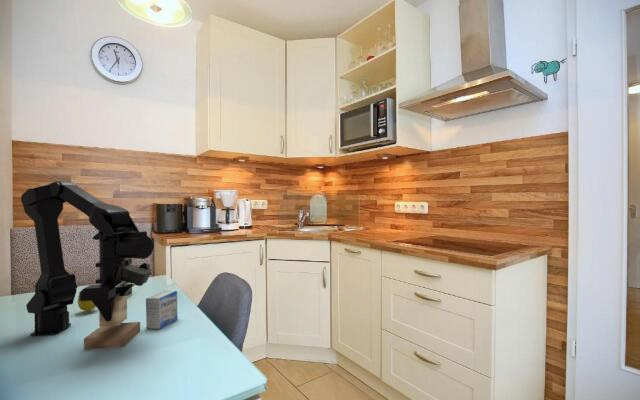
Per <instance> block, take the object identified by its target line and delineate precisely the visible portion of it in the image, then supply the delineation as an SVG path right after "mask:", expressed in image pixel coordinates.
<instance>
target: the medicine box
mask: <svg viewBox="0 0 640 400" xmlns="http://www.w3.org/2000/svg"><path fill="white" fill-rule="evenodd" d="M177 319H178V291H177V290H173V289H172V290H171V289H170V290H169V289H168V290H167V289H166V290H163V291H161V292H159V293H158V292H157V293H156V294H154V295H150V296H149V297H146V298H145V322H146V324H145V325H146V329H150V330H151V329H152V330H153V329H154V330H155V329H156V330H161V329H163V328H164V327H166V326H168V325H169V324H171V323H173V322H175V321H177Z"/></svg>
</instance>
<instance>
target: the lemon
mask: <svg viewBox="0 0 640 400" xmlns="http://www.w3.org/2000/svg"><path fill="white" fill-rule="evenodd" d="M77 305H78V308H79V309H80V310H82V311H84V312H86V313H90V312H91V311H93V309H95V308H97V307H96V306H95V305H94V303H93V302H92V301H79V296H77Z"/></svg>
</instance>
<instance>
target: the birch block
mask: <svg viewBox="0 0 640 400" xmlns="http://www.w3.org/2000/svg"><path fill="white" fill-rule="evenodd" d="M98 317H99V319H98V320H99V321H98V323H99V327H101V326H113V325H120V324H121V323H124V322H125V321H127V319H128V298H127V296H118V297H117V298H116V299H115V300H114V306H113V313H112V319H111V321H105V319H104V318H103V316H102V314H101V313H100V311H99V310H98Z"/></svg>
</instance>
